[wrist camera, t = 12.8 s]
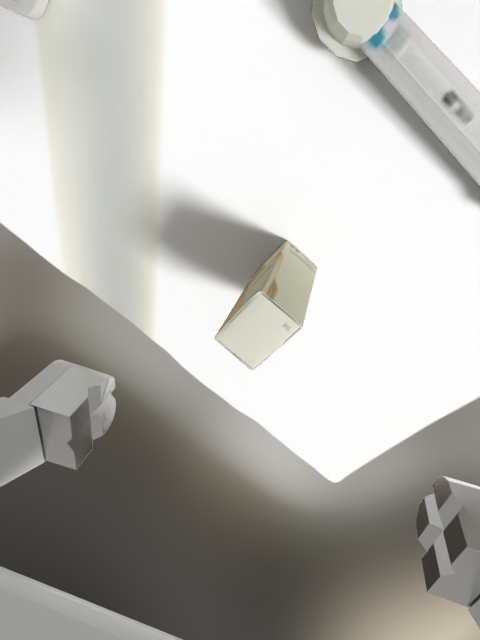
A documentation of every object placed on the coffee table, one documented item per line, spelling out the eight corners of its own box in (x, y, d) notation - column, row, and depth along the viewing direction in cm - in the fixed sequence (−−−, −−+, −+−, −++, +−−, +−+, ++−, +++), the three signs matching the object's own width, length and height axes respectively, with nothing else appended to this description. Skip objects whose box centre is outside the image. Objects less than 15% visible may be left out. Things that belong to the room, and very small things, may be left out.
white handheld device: (534, 258, 28) (293, 3, 22) (497, 228, 34) (296, 17, 27) (611, 206, 25) (361, -101, 19) (557, 183, 31) (349, -62, 25)
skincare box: (286, 238, 36) (261, 286, 26) (319, 267, 37) (307, 325, 26) (247, 281, 39) (211, 339, 29) (277, 307, 40) (252, 373, 30)
